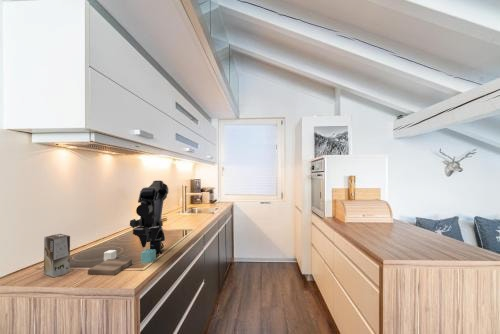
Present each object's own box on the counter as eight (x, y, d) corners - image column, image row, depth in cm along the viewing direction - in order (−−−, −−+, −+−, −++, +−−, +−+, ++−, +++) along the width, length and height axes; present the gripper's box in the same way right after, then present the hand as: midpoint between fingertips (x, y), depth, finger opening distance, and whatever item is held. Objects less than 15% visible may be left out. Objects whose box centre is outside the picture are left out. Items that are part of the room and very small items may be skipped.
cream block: (109, 257, 123) (109, 250, 123) (116, 258, 123) (116, 250, 123) (103, 260, 119) (103, 252, 119) (111, 260, 119) (111, 252, 119)
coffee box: (70, 272, 105) (71, 235, 105) (53, 277, 99) (53, 239, 100) (59, 268, 109) (60, 233, 109) (42, 273, 103) (43, 236, 104)
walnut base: (108, 263, 115) (108, 259, 115) (131, 263, 114) (131, 259, 114) (87, 274, 102) (87, 269, 102) (114, 275, 101) (114, 270, 101)
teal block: (146, 259, 121) (146, 249, 121) (155, 259, 120) (155, 249, 120) (141, 262, 116) (141, 252, 116) (150, 263, 115) (150, 252, 115)
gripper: (143, 210, 129) (143, 239, 128) (122, 216, 110) (121, 250, 110) (163, 210, 128) (163, 239, 127) (144, 216, 109) (144, 250, 109)
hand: (148, 244), depth 118 cm, fingers open, 9 cm apart
